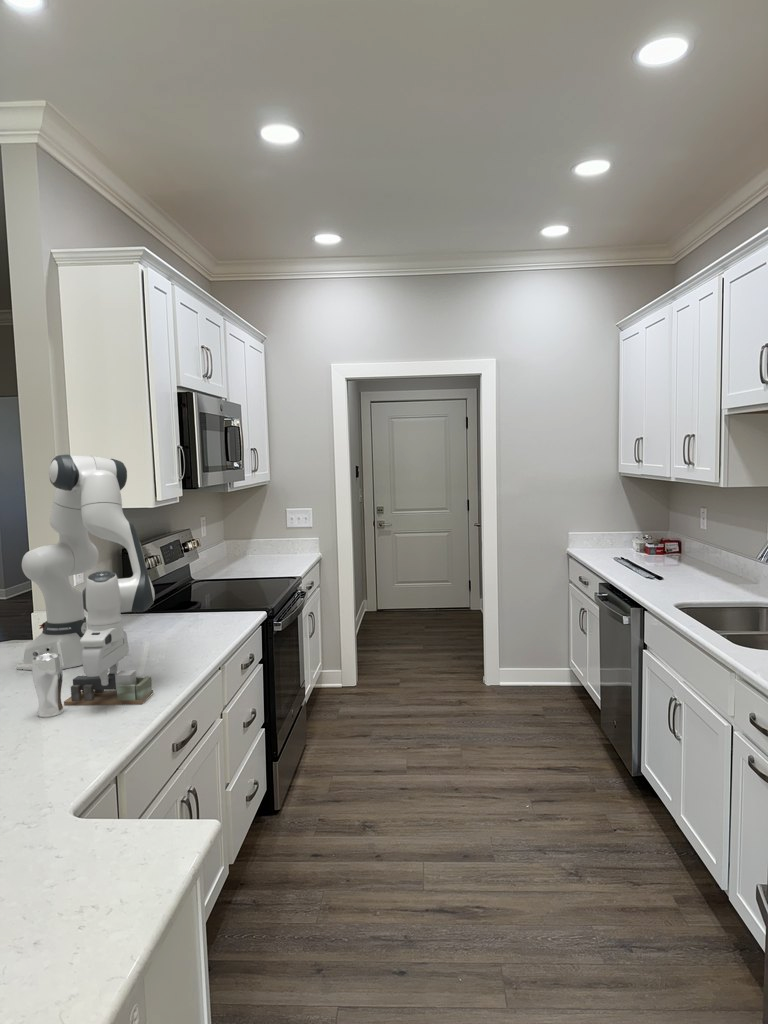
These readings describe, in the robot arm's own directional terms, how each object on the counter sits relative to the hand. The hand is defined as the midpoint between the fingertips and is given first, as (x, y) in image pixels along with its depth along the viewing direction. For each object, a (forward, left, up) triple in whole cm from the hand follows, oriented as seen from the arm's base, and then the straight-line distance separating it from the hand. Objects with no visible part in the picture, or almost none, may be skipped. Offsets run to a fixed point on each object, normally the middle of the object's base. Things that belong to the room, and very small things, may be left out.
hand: (109, 681), depth 185 cm
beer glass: (-12, -9, -5) cm, 16 cm away
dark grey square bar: (-2, 0, -2) cm, 3 cm away
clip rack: (-1, 0, -5) cm, 5 cm away
